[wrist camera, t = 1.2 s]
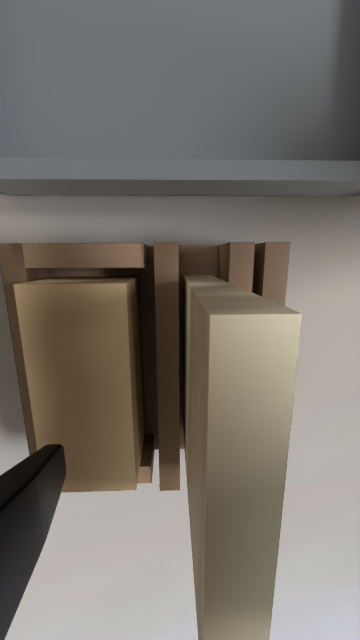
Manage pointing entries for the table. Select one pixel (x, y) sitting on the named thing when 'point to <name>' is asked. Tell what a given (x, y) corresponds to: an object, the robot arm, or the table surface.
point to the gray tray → (180, 97)
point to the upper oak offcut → (84, 377)
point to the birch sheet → (236, 449)
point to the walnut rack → (147, 316)
